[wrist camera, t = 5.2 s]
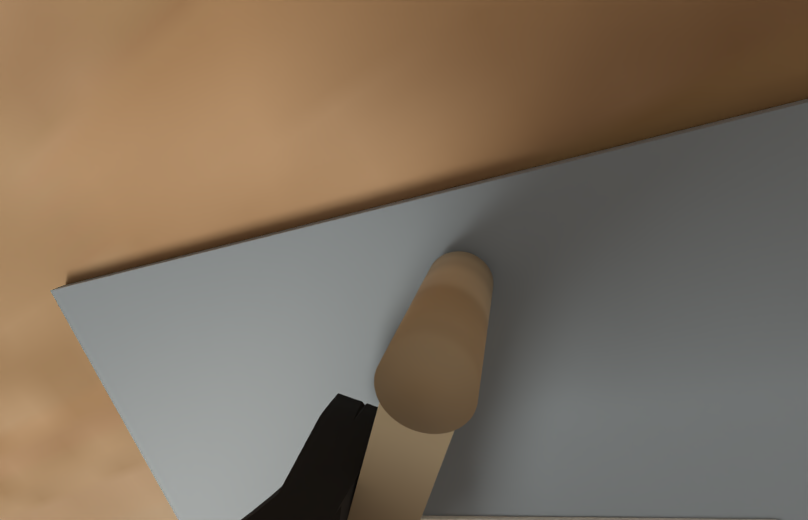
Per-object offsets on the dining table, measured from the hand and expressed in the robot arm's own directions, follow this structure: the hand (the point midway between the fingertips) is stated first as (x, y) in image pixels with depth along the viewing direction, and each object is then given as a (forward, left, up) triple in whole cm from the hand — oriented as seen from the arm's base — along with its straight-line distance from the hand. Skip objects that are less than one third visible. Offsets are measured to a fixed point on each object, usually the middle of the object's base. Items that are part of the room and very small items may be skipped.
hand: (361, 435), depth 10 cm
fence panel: (0, -1, -1) cm, 1 cm away
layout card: (-4, 0, -2) cm, 4 cm away
